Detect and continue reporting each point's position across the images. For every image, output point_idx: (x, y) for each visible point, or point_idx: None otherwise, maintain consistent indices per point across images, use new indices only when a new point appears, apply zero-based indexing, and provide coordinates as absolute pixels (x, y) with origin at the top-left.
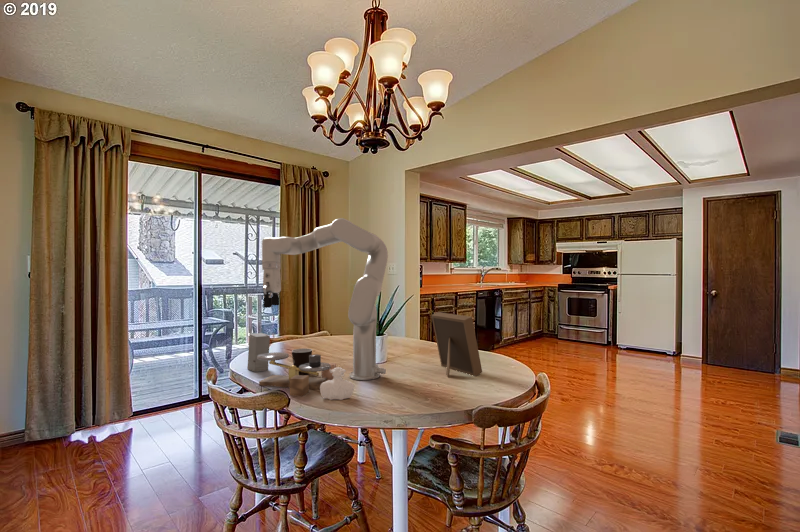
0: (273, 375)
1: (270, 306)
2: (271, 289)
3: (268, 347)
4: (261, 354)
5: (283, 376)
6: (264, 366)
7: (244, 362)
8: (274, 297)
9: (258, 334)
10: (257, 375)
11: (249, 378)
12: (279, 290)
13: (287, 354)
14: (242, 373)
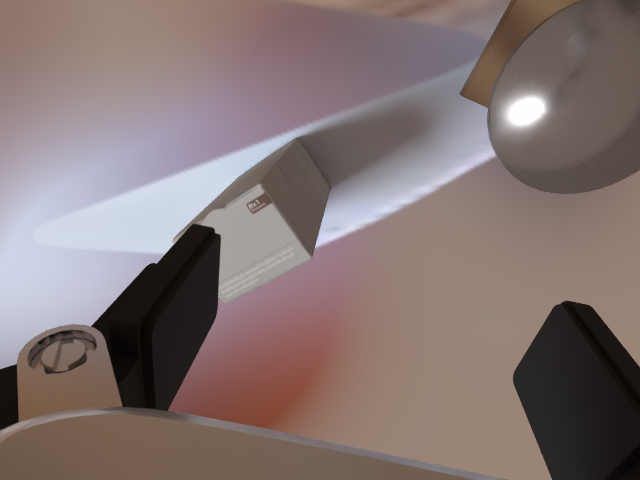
0: (478, 91)
1: (586, 317)
2: None
3: (279, 167)
4: (523, 177)
5: (517, 34)
6: (305, 156)
7: (160, 248)
8: (164, 374)
9: (235, 257)
10: (384, 168)
11: (425, 192)
12: (262, 475)
13: (602, 3)
14: (338, 229)
